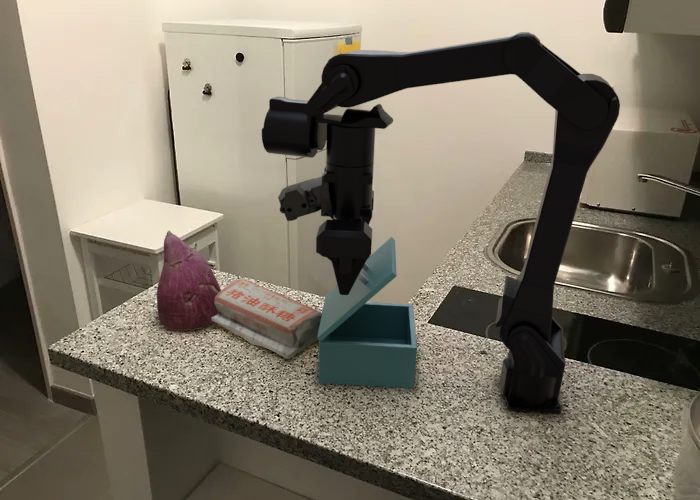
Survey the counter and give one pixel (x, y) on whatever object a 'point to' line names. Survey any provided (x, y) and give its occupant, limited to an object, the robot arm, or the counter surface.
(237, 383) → the counter surface
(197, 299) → the vegetable
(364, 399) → the counter surface
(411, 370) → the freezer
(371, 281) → the freezer lid
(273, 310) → the packaged product
